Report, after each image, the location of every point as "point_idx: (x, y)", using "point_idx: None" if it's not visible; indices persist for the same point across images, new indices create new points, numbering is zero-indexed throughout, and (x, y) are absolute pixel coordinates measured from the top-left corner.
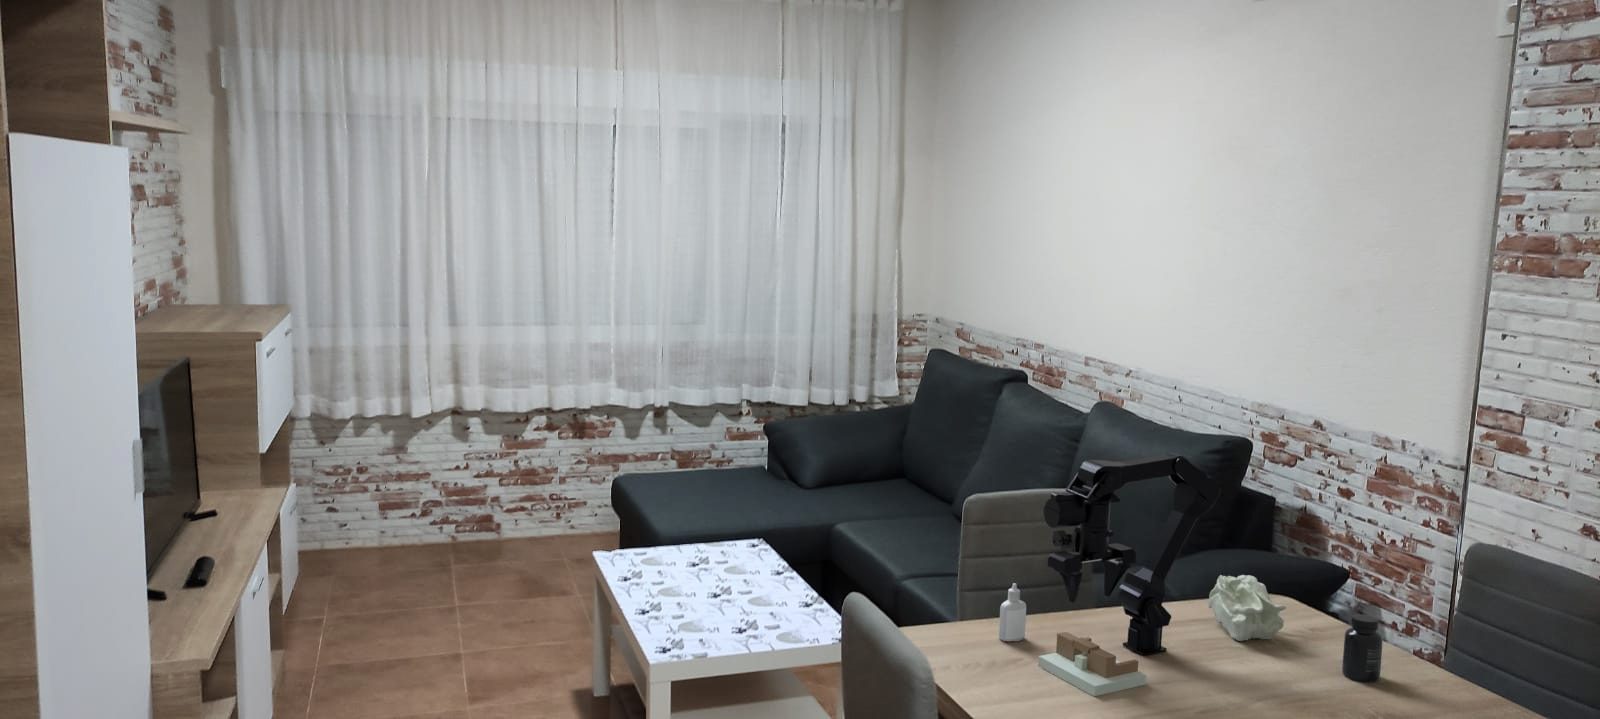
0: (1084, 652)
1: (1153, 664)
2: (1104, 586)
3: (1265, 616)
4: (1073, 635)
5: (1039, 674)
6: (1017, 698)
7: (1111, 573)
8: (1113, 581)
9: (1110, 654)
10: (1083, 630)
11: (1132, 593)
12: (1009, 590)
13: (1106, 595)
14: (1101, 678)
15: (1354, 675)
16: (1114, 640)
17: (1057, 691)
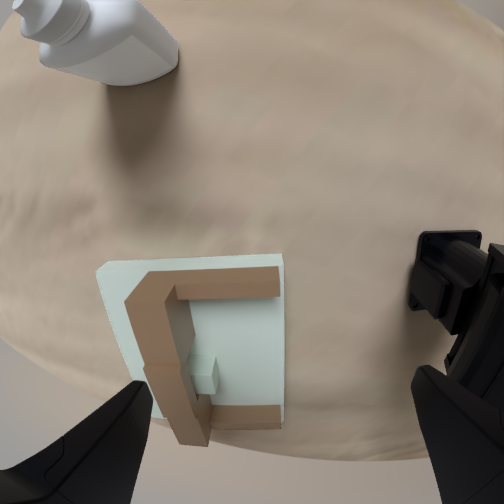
0: (233, 300)
1: (385, 346)
2: (443, 397)
3: None
4: (171, 336)
5: (93, 299)
6: (41, 350)
7: (468, 495)
8: (437, 476)
9: (200, 440)
10: (405, 86)
11: (486, 401)
12: (22, 18)
13: (415, 379)
14: None
15: None
16: (431, 189)
17: (101, 366)
